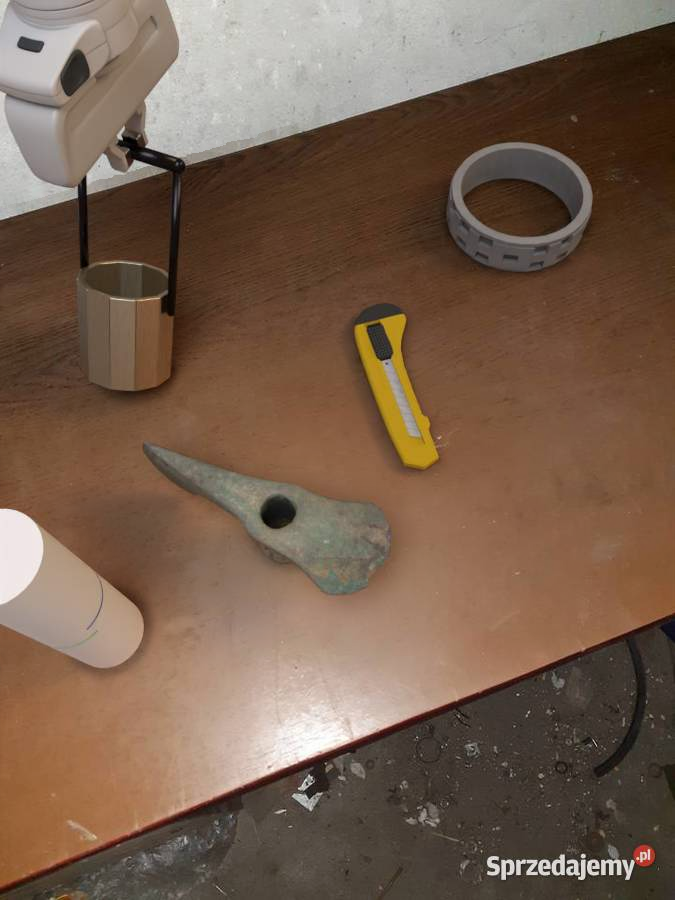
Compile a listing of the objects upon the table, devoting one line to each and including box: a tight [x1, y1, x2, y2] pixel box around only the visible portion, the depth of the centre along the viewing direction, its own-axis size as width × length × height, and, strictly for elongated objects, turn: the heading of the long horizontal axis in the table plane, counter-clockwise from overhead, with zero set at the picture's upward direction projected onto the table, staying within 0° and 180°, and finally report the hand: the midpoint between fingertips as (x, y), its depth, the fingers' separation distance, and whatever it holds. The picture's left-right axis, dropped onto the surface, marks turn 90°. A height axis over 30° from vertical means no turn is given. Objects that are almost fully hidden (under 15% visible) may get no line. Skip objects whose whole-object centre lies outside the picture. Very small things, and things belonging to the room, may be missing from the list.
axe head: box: [142, 442, 392, 596], centre depth 69 cm, size 27×10×10 cm, turn 63°
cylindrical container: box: [0, 508, 145, 669], centre depth 59 cm, size 7×7×25 cm
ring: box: [445, 141, 594, 273], centre depth 90 cm, size 18×18×5 cm
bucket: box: [76, 138, 187, 392], centre depth 73 cm, size 25×12×10 cm
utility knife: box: [354, 302, 440, 471], centre depth 81 cm, size 7×22×2 cm, turn 16°
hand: (130, 157), depth 67 cm, fingers closed on bucket
